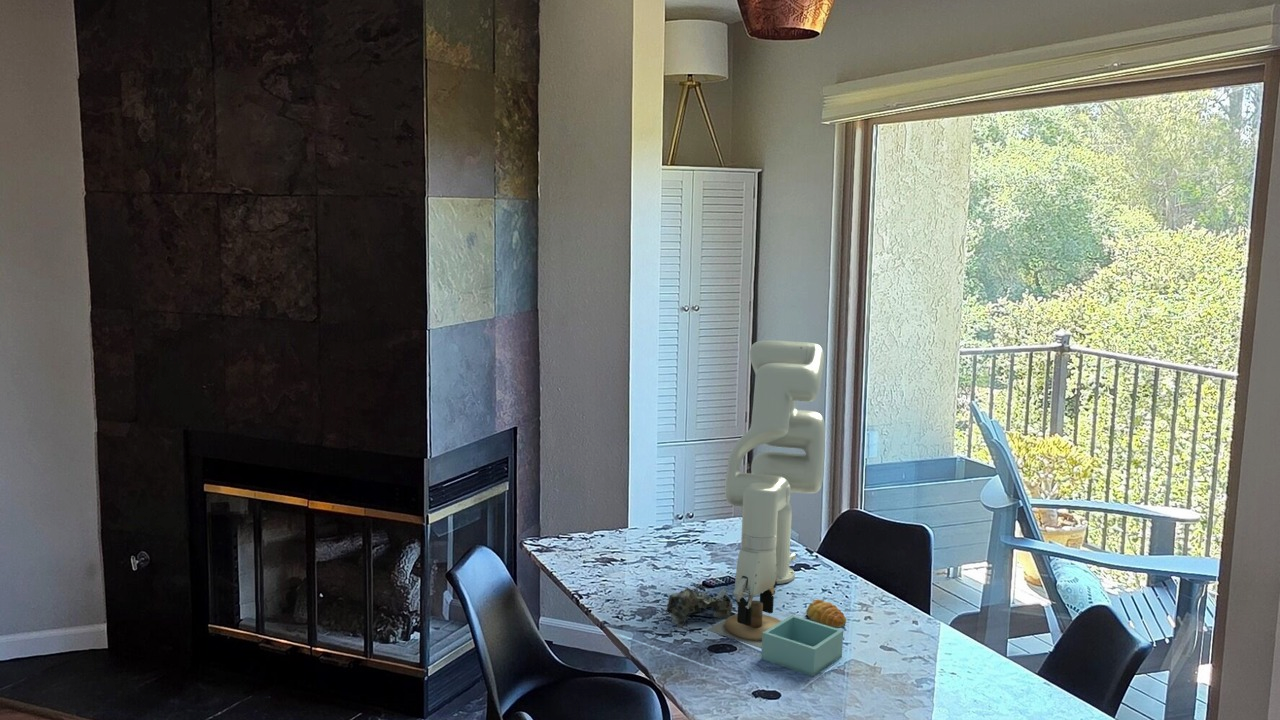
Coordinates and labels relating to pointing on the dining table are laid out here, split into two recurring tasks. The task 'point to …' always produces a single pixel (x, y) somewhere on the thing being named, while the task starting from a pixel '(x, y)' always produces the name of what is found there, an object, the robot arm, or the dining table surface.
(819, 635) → the green square box
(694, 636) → the dining table surface
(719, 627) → the mat
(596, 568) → the dining table surface
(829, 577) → the dining table surface
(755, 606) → the lid
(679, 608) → the mottled brown rock
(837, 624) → the pastry
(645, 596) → the dining table surface
